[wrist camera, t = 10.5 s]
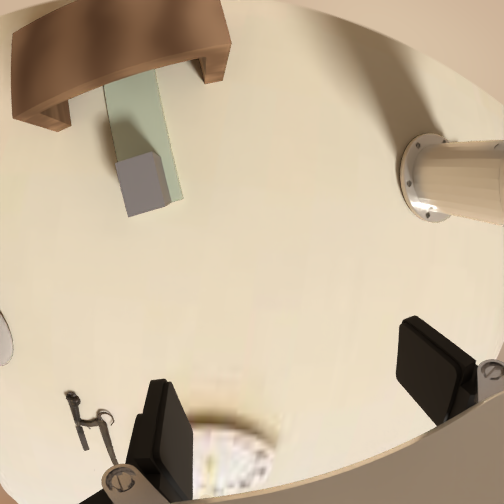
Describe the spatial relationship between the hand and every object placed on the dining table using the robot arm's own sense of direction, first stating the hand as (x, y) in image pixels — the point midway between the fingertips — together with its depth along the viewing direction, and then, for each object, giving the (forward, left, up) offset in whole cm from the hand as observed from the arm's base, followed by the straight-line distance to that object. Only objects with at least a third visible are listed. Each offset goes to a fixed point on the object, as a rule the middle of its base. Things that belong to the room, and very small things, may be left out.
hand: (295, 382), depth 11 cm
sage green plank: (+7, -18, -25) cm, 31 cm away
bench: (+7, -24, -24) cm, 35 cm away
